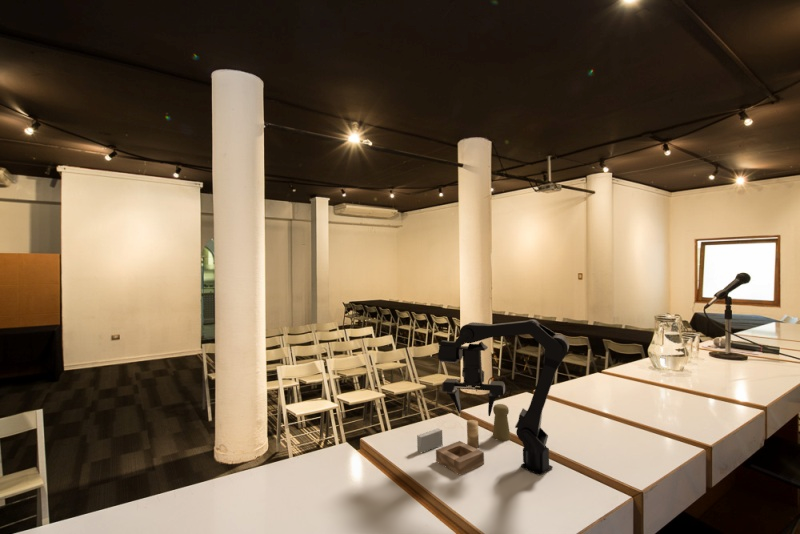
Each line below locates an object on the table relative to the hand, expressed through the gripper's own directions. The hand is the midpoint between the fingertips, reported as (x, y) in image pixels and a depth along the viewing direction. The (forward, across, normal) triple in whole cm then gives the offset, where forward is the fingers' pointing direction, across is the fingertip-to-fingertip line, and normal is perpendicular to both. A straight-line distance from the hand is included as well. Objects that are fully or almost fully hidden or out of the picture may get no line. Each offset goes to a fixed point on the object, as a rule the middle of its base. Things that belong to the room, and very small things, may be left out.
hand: (474, 414), depth 121 cm
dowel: (+13, +2, -6) cm, 14 cm away
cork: (+13, -6, -16) cm, 22 cm away
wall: (+12, +15, -1) cm, 20 cm away
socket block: (+13, +4, +6) cm, 14 cm away
